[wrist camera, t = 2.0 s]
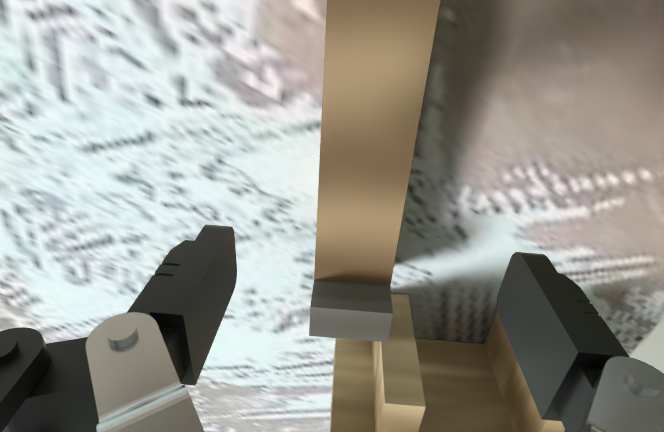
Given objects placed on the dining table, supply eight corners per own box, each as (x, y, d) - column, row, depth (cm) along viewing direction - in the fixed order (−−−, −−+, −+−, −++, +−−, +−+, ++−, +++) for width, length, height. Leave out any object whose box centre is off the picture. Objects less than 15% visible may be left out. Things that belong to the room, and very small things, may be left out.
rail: (337, -90, 16) (328, -118, 11) (436, -83, 16) (472, -108, 11) (319, 263, 26) (309, 335, 20) (381, 267, 26) (387, 342, 20)
